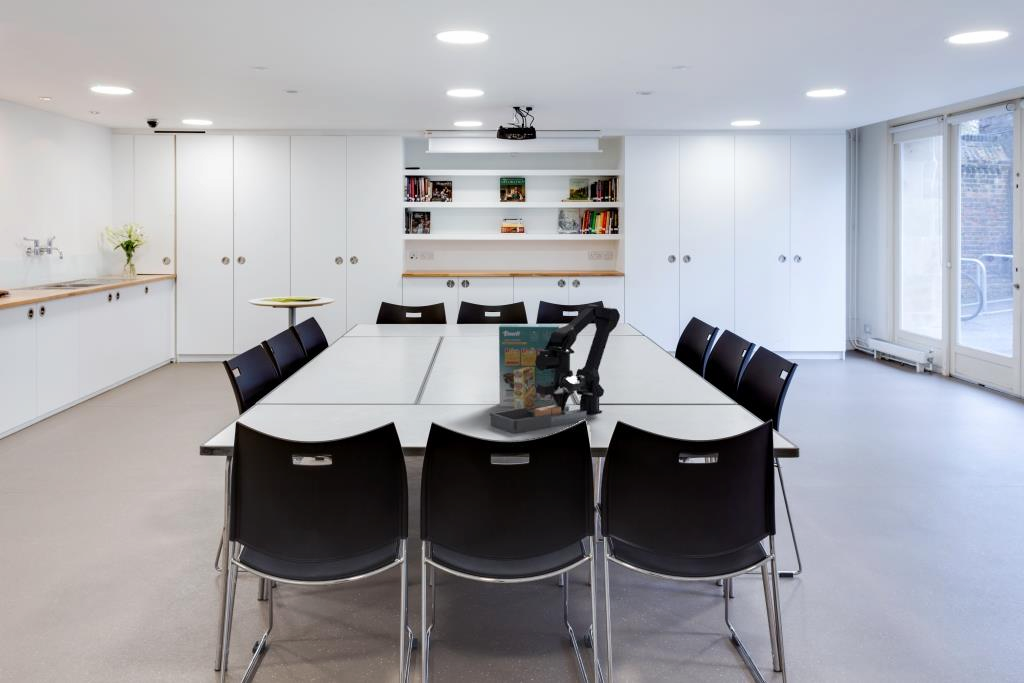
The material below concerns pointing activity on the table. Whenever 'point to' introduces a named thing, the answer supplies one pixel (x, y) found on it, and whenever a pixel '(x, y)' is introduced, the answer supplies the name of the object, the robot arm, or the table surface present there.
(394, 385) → the table surface
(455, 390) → the table surface
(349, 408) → the table surface
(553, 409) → the chip
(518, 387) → the candy box
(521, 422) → the tray
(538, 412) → the tan cube
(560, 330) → the robot arm
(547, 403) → the teal product box
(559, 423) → the slot board
